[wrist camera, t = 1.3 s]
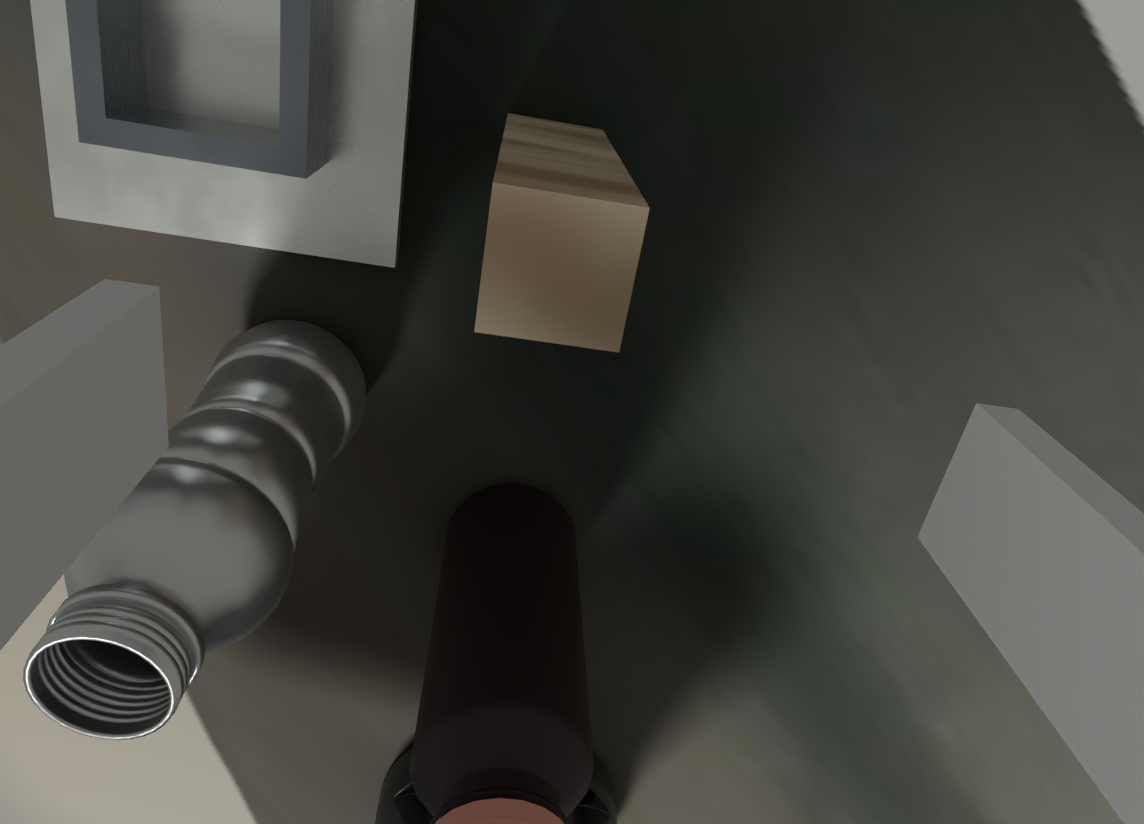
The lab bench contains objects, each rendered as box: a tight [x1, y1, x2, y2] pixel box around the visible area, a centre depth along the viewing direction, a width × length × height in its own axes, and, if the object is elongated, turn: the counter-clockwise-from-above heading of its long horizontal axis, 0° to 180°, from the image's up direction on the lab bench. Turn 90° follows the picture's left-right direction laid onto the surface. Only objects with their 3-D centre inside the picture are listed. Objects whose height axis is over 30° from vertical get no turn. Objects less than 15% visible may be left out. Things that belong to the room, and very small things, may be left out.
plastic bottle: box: [23, 320, 366, 740], centre depth 29 cm, size 6×7×20 cm
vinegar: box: [410, 484, 594, 824], centre depth 34 cm, size 7×7×20 cm
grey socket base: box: [30, 0, 418, 268], centre depth 30 cm, size 16×14×4 cm
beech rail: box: [474, 113, 650, 352], centre depth 28 cm, size 4×4×15 cm
